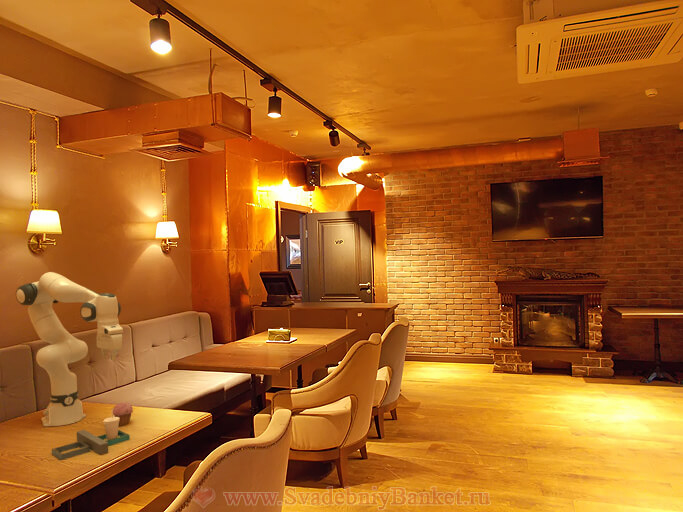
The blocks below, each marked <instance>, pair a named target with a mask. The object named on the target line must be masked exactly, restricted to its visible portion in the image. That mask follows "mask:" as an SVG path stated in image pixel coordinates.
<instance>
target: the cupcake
mask: <svg viewBox="0 0 683 512" xmlns="http://www.w3.org/2000/svg"><path fill="white" fill-rule="evenodd" d="M112 409H113V416H114V417H119V418H120V421H119V426H126V425H127V424H129V423H130V421H131V416H132V413H133V410H134V409H133V406H132V404H131V403H130V402H121V403H117V404H116V405H114V407H113V408H112Z"/></svg>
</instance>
